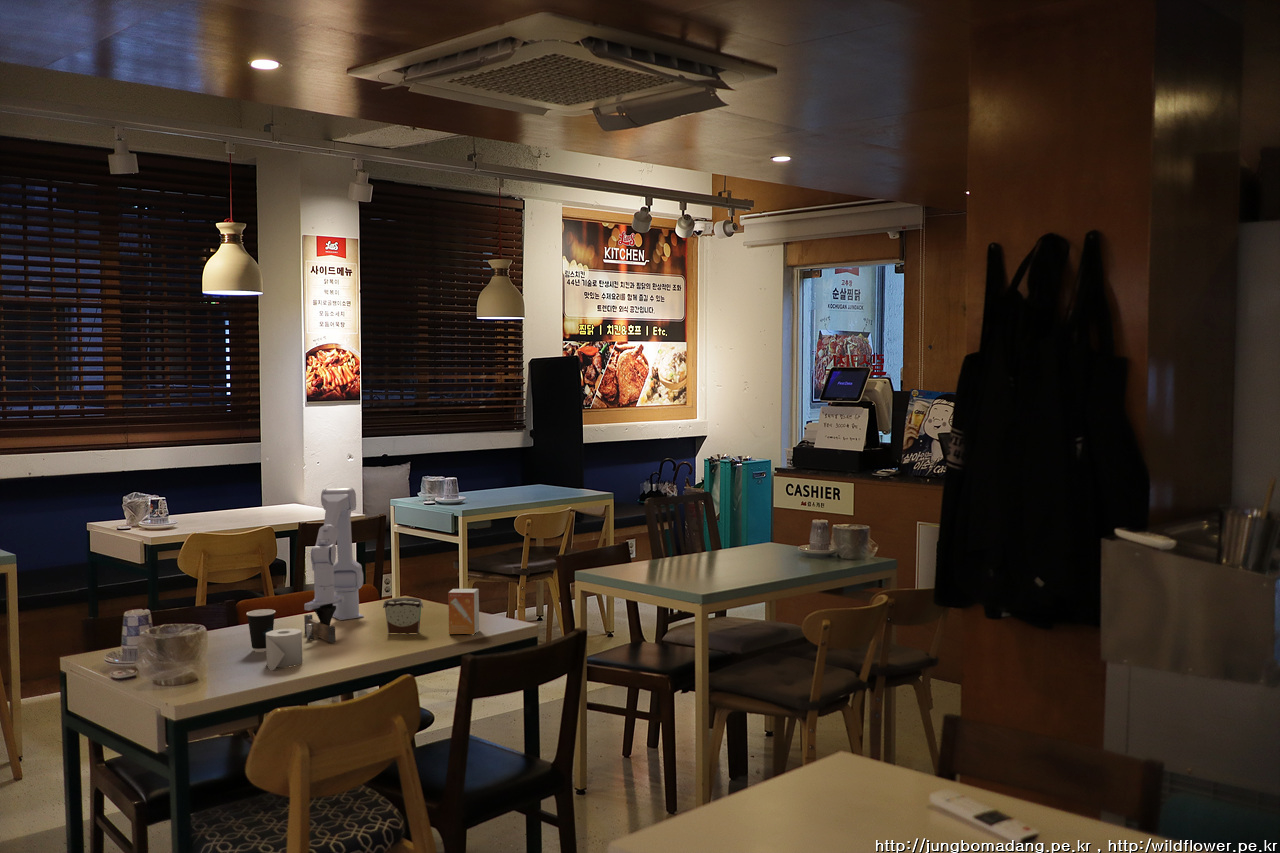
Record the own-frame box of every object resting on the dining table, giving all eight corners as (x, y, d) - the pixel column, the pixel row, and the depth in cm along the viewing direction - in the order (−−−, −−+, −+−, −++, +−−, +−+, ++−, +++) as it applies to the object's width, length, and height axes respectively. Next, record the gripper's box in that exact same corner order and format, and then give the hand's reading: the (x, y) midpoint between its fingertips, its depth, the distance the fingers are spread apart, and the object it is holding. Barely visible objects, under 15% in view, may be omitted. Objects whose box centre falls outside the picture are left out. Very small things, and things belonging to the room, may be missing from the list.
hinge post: (303, 632, 333) (303, 615, 333) (311, 631, 335) (310, 614, 334) (306, 634, 331) (305, 616, 331) (314, 633, 333) (313, 615, 333)
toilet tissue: (269, 673, 286) (268, 640, 286) (265, 661, 298) (264, 630, 298) (305, 669, 290) (304, 636, 290) (300, 657, 302) (299, 627, 302)
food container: (429, 629, 335) (428, 597, 335) (423, 634, 329) (422, 601, 328) (390, 629, 336) (389, 597, 336) (383, 634, 330) (382, 601, 330)
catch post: (305, 639, 325) (305, 624, 325) (312, 638, 326) (312, 623, 326) (308, 640, 323) (307, 625, 323) (314, 639, 324) (314, 624, 324)
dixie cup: (250, 647, 315) (249, 609, 315) (278, 646, 317) (277, 608, 316) (245, 654, 307) (243, 615, 307) (274, 652, 309) (273, 614, 308)
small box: (448, 635, 327) (447, 592, 326) (453, 630, 333) (452, 588, 332) (475, 635, 326) (474, 592, 326) (479, 630, 332) (478, 588, 332)
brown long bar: (308, 632, 331) (307, 618, 331) (313, 631, 332) (312, 617, 332) (330, 642, 317) (329, 627, 317) (335, 642, 318) (335, 626, 318)
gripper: (331, 580, 335) (333, 624, 336) (296, 588, 323) (297, 633, 323) (349, 581, 332) (350, 626, 332) (313, 589, 319) (315, 635, 320)
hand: (325, 630), depth 328 cm, fingers closed
